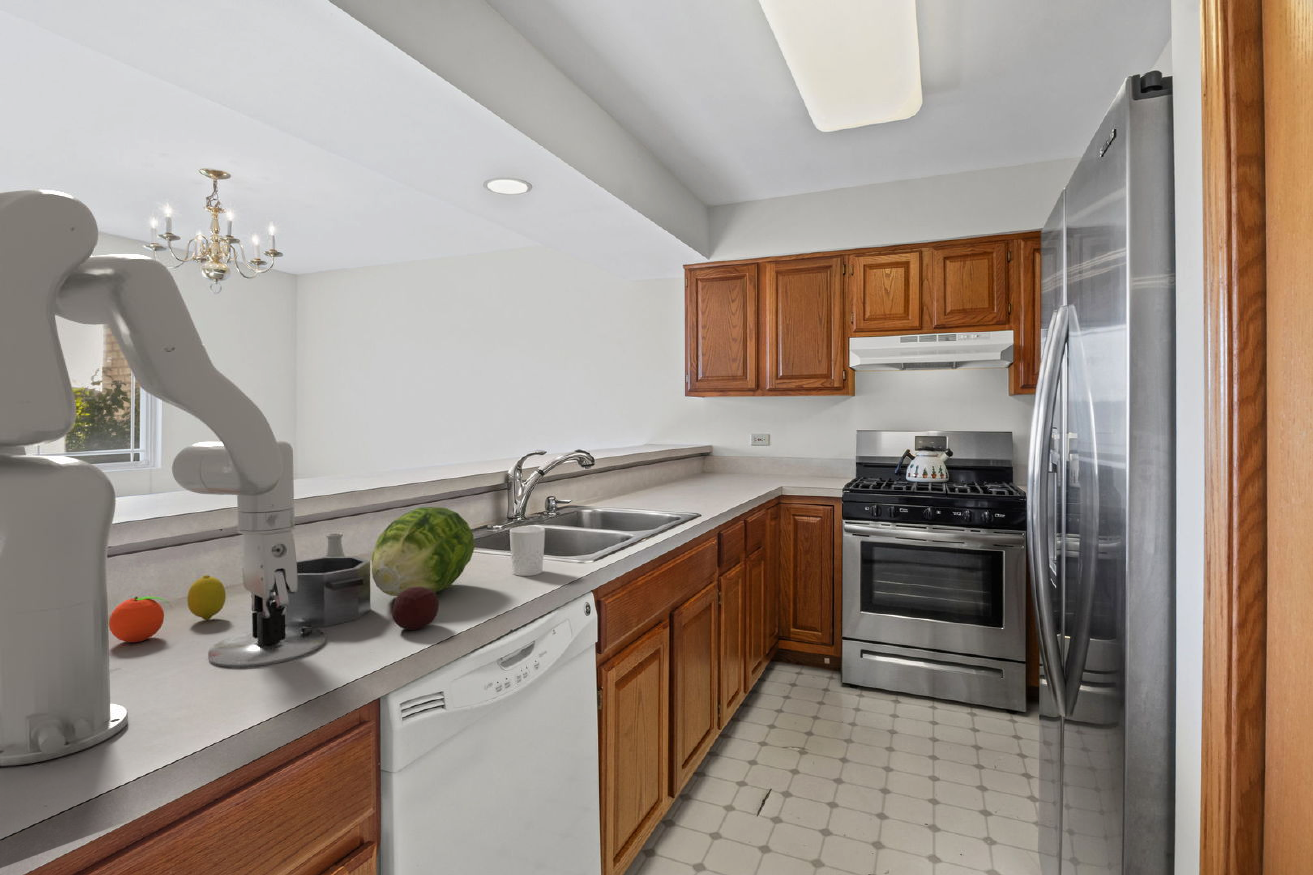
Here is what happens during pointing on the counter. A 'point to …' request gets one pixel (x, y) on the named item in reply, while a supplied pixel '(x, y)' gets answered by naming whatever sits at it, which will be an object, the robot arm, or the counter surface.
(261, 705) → the counter surface
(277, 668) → the counter surface
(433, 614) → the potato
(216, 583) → the lemon
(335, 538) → the grey flared column
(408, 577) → the lettuce
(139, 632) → the clementine
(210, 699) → the counter surface
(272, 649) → the lid
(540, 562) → the white cup
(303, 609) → the pot
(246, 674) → the counter surface
